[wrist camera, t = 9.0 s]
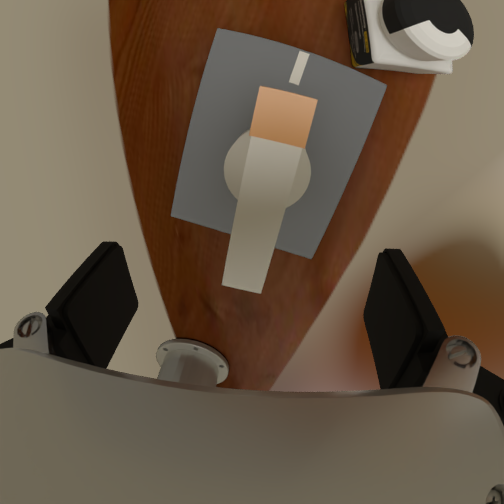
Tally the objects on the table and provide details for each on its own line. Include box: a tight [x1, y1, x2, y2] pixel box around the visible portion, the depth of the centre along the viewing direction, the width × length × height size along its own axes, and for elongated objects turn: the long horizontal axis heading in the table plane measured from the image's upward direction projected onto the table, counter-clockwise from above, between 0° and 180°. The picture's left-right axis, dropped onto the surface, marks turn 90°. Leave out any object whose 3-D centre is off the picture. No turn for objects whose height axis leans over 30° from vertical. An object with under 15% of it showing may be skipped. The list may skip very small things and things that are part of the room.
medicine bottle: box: [344, 0, 474, 74], centre depth 15 cm, size 7×7×12 cm
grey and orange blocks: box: [222, 86, 318, 294], centre depth 18 cm, size 11×6×9 cm, turn 168°
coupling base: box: [171, 28, 387, 259], centre depth 25 cm, size 20×16×6 cm
